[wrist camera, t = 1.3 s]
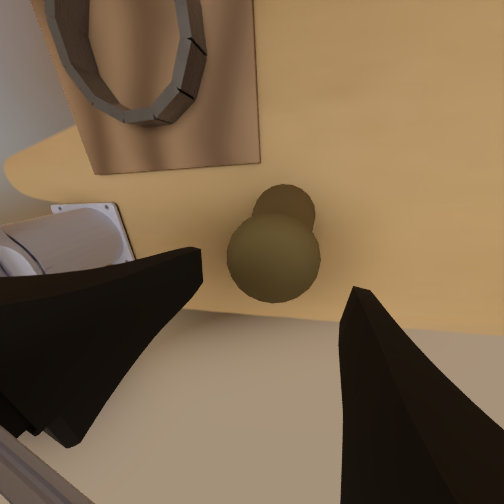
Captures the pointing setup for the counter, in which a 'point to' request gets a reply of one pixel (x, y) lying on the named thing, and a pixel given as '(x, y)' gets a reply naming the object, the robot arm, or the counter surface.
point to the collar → (93, 86)
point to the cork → (276, 247)
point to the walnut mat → (158, 78)
